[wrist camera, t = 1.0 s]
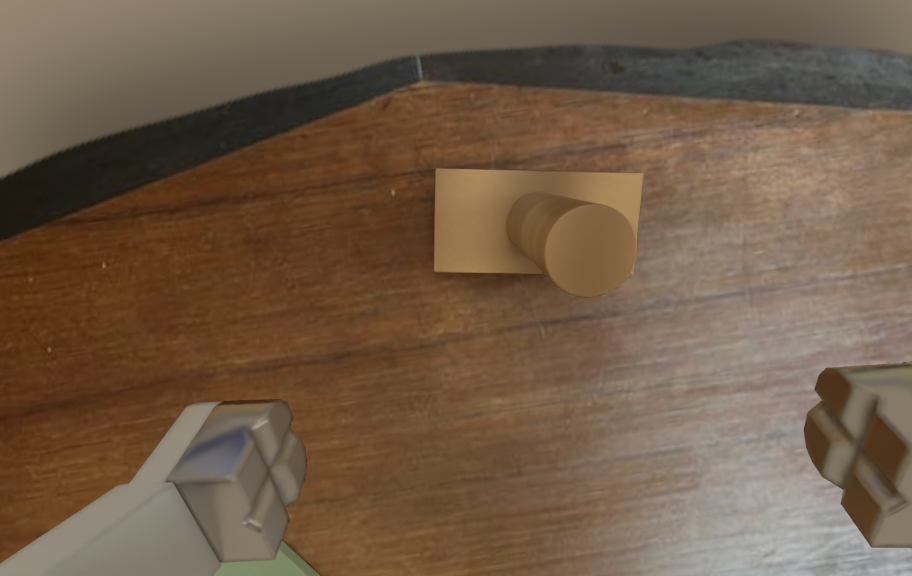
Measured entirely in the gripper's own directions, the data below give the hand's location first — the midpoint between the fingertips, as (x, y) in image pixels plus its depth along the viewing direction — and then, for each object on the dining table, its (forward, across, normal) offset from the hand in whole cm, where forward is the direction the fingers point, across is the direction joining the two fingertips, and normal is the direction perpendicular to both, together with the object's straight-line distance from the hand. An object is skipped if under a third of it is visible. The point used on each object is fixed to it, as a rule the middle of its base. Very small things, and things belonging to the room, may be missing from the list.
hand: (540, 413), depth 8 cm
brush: (+20, -1, +5) cm, 21 cm away
